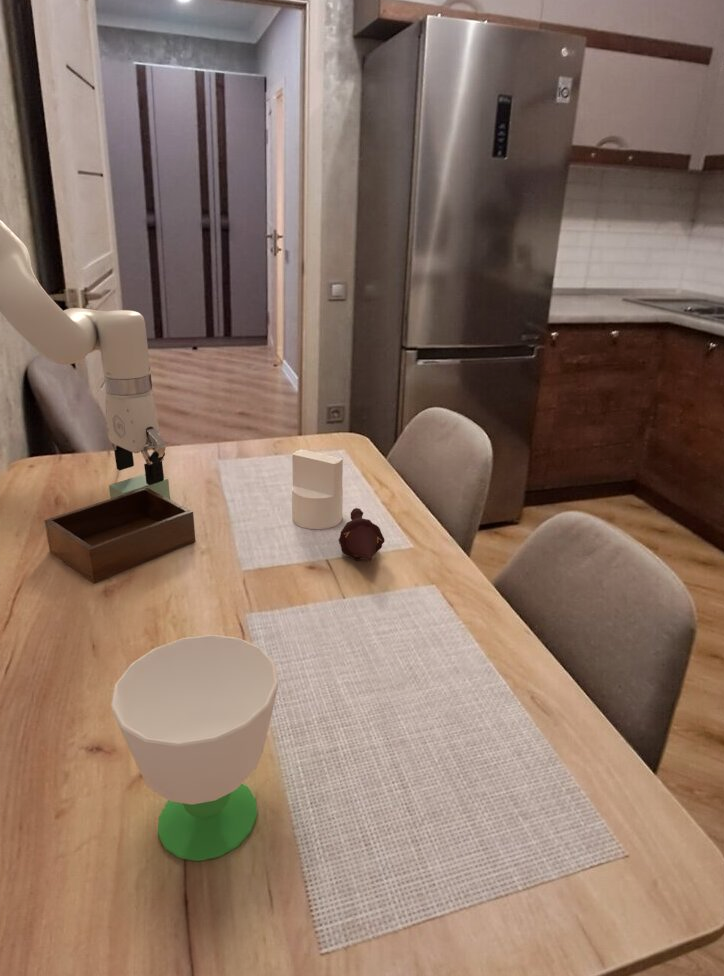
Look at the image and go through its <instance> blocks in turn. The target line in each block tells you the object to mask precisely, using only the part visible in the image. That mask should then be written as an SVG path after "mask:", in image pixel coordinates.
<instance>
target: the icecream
mask: <svg viewBox="0 0 724 976" xmlns="http://www.w3.org/2000/svg"><path fill="white" fill-rule="evenodd" d="M363 515H364V512H363V510H362V509H361V508H358V507H354V508H353V509H352V510H351V512H350V519H351V520H350V521H348V522H346V524H345V525H344V526H343V528H342V529H341V531H340V534H339V538H338V542H339V544H340V545H339V546H340V549H341V552H342V554H343V555H345V556H346V557H349V558H351V559H353V560H355V561H360V560H366V561H368V562H371V561H372V560H373V557H374V556H375V555H376V554H377V552H378V551H380V550H381V549H382V547H383V544H384V543H385V538H384V536H383V534H382V531H381V528H380V527H379V525H377V524H375V523H373V522H372V521H371V520H370V519H367V518H363Z"/></svg>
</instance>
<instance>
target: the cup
mask: <svg viewBox="0 0 724 976" xmlns="http://www.w3.org/2000/svg"><path fill="white" fill-rule="evenodd" d="M278 688H279V677H278V672H277V665H276V663H275V662H274V661H273V660H272V659H271V657H270V656H269V655H268V654H267V653H266V651H265V650H264V649H263V648H262V647H260V646H258V645H256V644H253V643H252V642H249V641H248V640H244V639H243V638H240V637H233V636H227V635H219V634H218V635H217V634H205V635H198V636H190V637H182V638H179V639H176V640H174V641H171V642H167V643H165V644H162V645H160V646H156V647H154V648H152V650H151V649H150V651H148V652H147V653H145V654H144V655H142V656H141V657H139V658H137V659H136V660H135V661H133V662H132V663H130V664H129V666H128V667H127V668H126V669H125V671H124V673H122V675H121V676H120V677H119V679H118V680H117V682H116V683H115V684H114V687H113V692H112V697H111V703H110V710H111V711H112V714H113V716H114V718H115V721H116V723H117V725H118V727H119V729H120V731H121V734H122V736H123V738H124V740H125V742H126V744H127V746H128V749H129V751H130V753H131V756H132V758H133V760H134V762H135V764H136V767H137V769H138V771H139V773H140V775H141V776H142V779H143V781H144V783H145V785H146V787H147V788H148V789H149V790H152V791H153V792H154V793H156V794H157V795H159V796H161V797H163V798H164V799H165V800H167V801H166V803H165V805H164V807H163V808H162V811H161V812H160V814H159V816H158V826H157V835H158V838H159V839H160V842H161V844H162V846H163V848H164V849H165V850H166V851H168V852H169V853H170V854H172V855H174V856H175V857H177V858H178V859H180V860H188V861H193V862H202V861H208V860H212V859H216V858H220V857H223V856H224V855H226V854H227V853H229V852H231V851H233V850H235V849H236V848H238V847H239V846H240V845H241V844H242V843H243V842H244V840H246V838H247V837H248V836H249V835H250V834H251V833H252V831H253V828H254V825H255V822H256V820H257V818H258V809H257V798H256V797H255V796H254V794H253V792H252V791H251V790H250V788H249V787H248V786H247V785H245V784H244V782H245V781H247V779H248V778H249V777H250V776H251V775H252V774H253V773H254V772H255V771H256V770H257V768H258V765H259V762H260V760H261V758H262V756H263V753H264V750H265V746H266V741H267V737H268V732H269V728H270V723H271V720H272V715H273V711H274V705H275V701H276V697H277V693H278Z"/></svg>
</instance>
